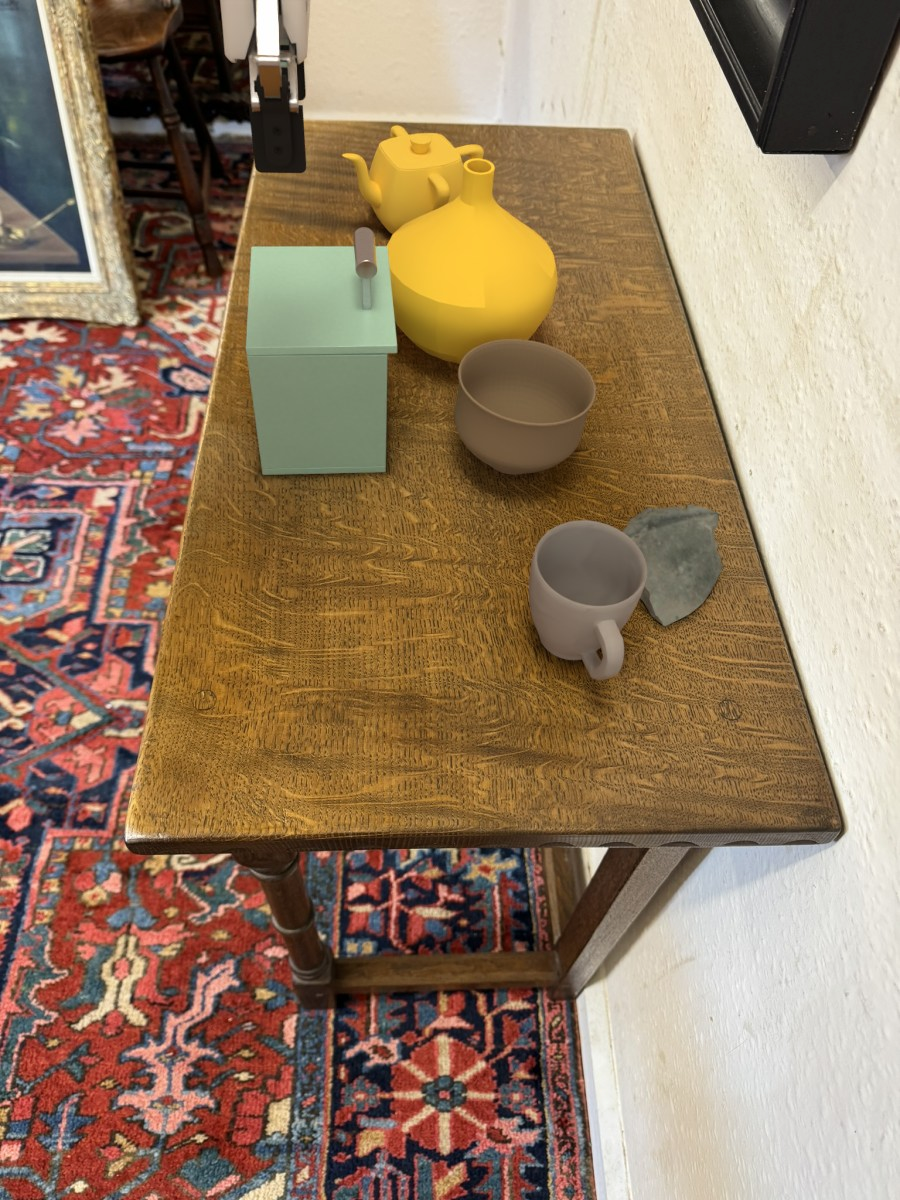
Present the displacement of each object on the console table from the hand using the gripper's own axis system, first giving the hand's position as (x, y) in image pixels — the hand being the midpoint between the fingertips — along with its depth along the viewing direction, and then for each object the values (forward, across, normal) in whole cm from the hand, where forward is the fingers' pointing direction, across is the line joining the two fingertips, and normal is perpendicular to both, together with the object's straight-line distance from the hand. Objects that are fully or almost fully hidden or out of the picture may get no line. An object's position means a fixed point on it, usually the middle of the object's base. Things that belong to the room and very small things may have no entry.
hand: (282, 132), depth 62 cm
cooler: (+32, -8, +2) cm, 33 cm away
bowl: (+32, -2, +20) cm, 38 cm away
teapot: (+32, -44, +13) cm, 56 cm away
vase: (+32, -21, +17) cm, 42 cm away
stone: (+32, +14, +32) cm, 48 cm away
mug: (+32, +21, +22) cm, 45 cm away
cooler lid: (+18, -7, +2) cm, 20 cm away
